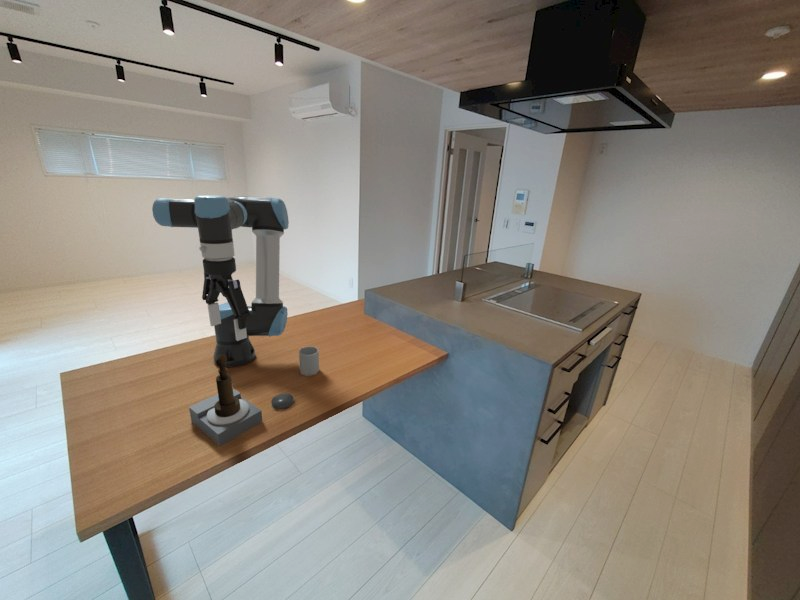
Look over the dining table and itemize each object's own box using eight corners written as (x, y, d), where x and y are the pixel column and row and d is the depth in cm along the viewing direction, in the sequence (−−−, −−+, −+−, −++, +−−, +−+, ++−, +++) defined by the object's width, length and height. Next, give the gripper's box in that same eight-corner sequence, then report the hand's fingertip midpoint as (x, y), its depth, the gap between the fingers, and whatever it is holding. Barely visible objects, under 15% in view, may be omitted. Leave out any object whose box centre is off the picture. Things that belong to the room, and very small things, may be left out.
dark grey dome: (267, 403, 109) (266, 400, 109) (285, 393, 115) (284, 390, 115) (280, 412, 106) (280, 409, 105) (298, 401, 111) (298, 398, 111)
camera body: (191, 421, 100) (188, 406, 98) (233, 400, 110) (231, 387, 108) (219, 446, 91) (217, 430, 89) (262, 421, 101) (261, 407, 100)
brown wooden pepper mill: (234, 400, 103) (227, 347, 97) (244, 409, 99) (238, 355, 93) (211, 409, 98) (203, 355, 92) (221, 420, 94) (213, 363, 88)
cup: (304, 378, 125) (303, 357, 122) (293, 366, 132) (292, 346, 129) (322, 372, 129) (321, 352, 126) (310, 361, 136) (310, 342, 133)
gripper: (181, 251, 91) (193, 322, 98) (230, 269, 77) (239, 350, 85) (209, 248, 96) (218, 315, 104) (259, 264, 83) (266, 340, 90)
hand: (228, 331), depth 94 cm, fingers open, 13 cm apart
